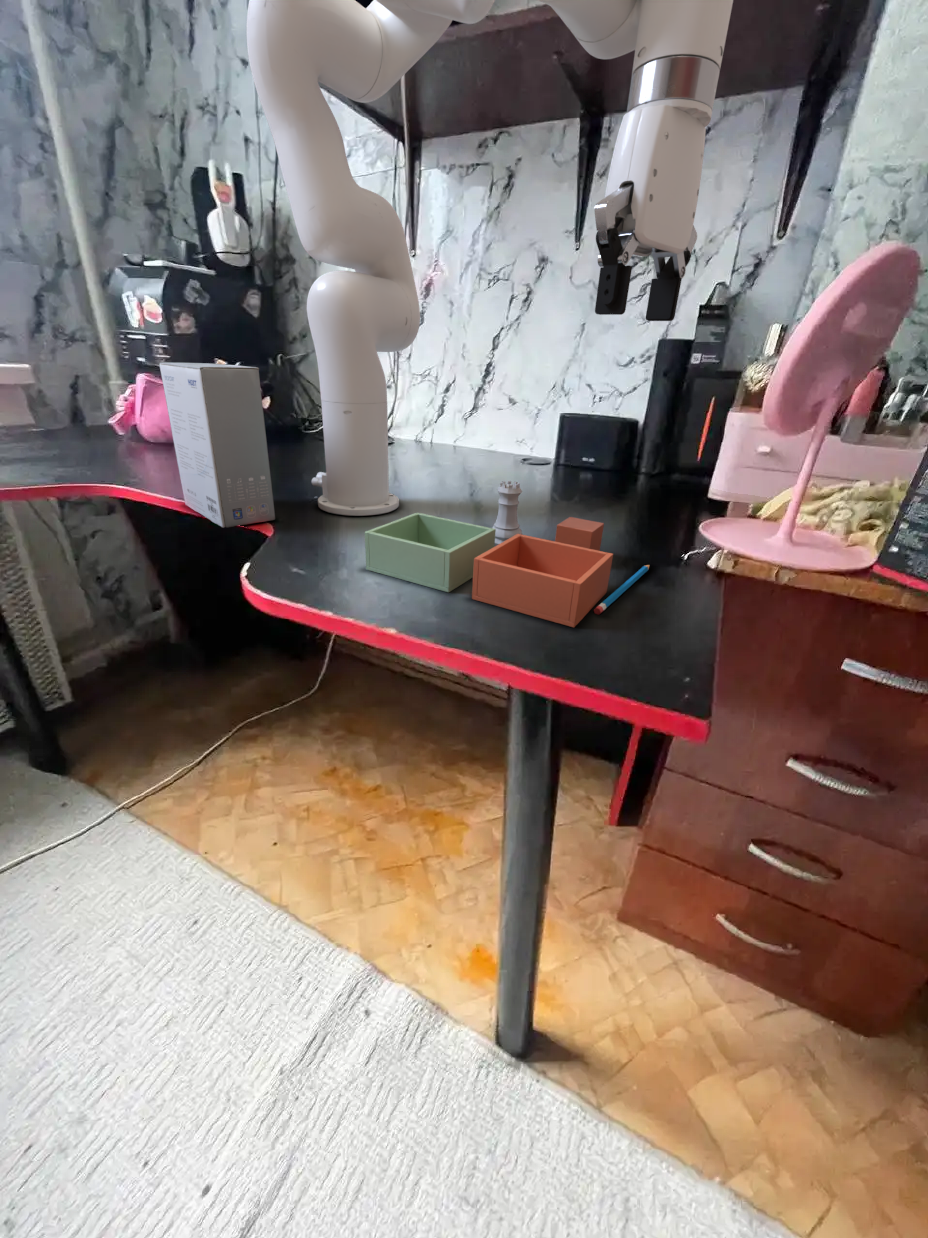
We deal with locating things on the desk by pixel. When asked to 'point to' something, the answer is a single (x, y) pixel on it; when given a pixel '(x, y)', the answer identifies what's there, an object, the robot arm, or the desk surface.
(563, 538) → the terracotta block
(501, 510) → the rook chess piece
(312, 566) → the desk surface
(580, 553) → the terracotta bin
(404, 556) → the sage bin
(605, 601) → the pencil
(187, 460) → the hard drive box
